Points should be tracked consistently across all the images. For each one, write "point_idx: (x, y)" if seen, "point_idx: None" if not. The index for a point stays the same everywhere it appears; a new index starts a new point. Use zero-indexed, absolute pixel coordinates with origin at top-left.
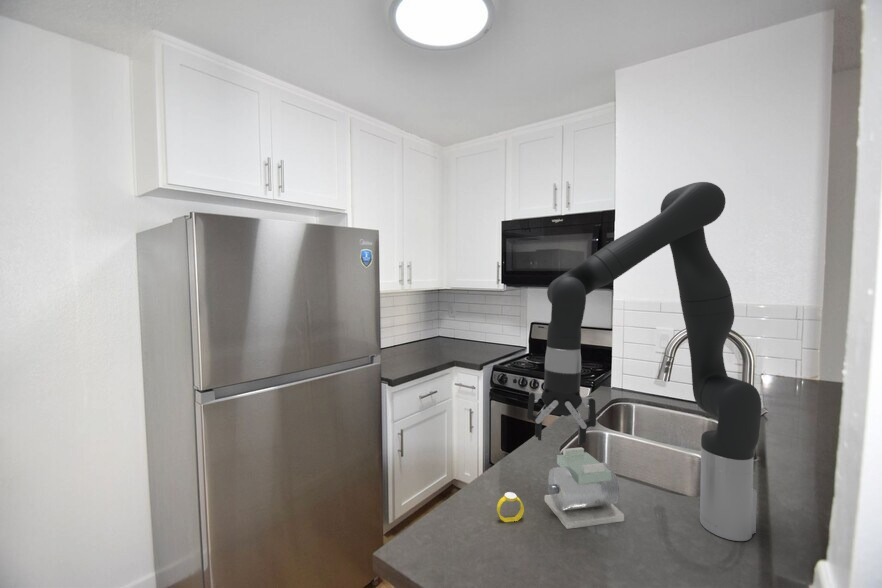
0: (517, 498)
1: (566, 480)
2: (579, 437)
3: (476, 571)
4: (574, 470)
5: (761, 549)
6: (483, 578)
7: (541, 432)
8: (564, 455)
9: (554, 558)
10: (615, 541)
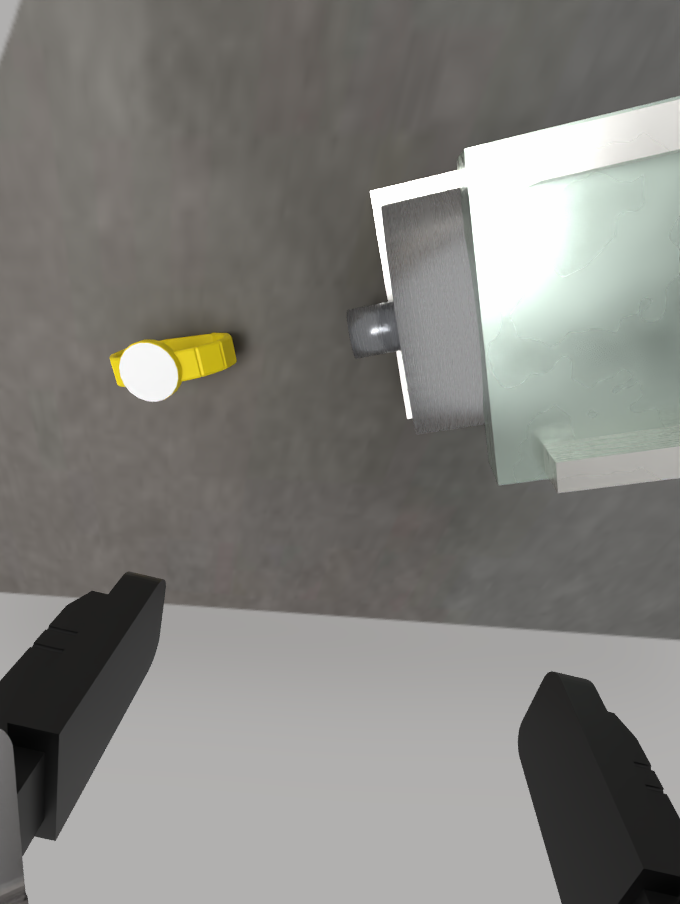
0: (187, 373)
1: (433, 415)
2: (541, 824)
3: (95, 573)
4: (499, 424)
5: None
6: None
7: (113, 732)
8: (527, 171)
9: (317, 543)
10: None
